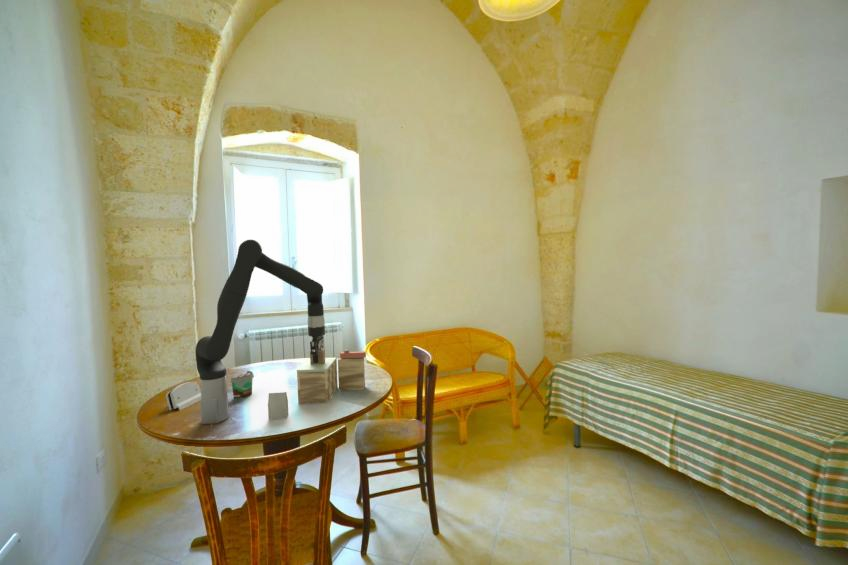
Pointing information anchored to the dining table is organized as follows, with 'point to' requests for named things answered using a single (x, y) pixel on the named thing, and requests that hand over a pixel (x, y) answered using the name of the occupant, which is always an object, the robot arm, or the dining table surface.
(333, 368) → the wooden box
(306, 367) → the lid
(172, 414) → the dining table surface
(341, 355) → the key bar
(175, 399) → the hinge
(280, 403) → the tea box
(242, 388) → the food container
